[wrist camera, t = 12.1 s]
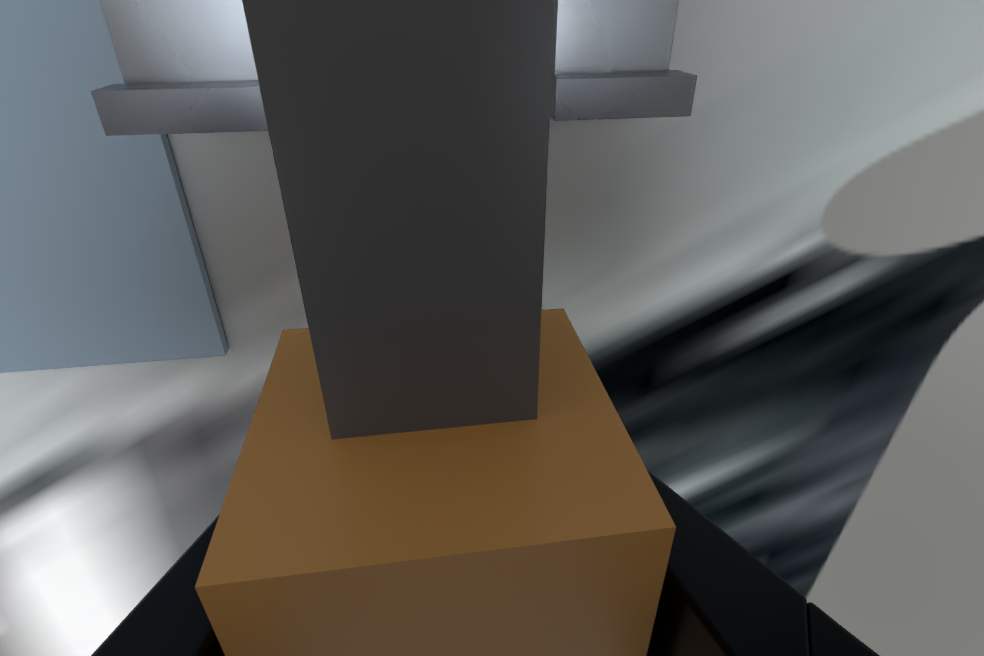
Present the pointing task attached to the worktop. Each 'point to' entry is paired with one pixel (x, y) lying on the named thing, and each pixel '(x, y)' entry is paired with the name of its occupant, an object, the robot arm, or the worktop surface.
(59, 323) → the mat
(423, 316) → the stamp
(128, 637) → the robot arm
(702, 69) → the worktop surface
